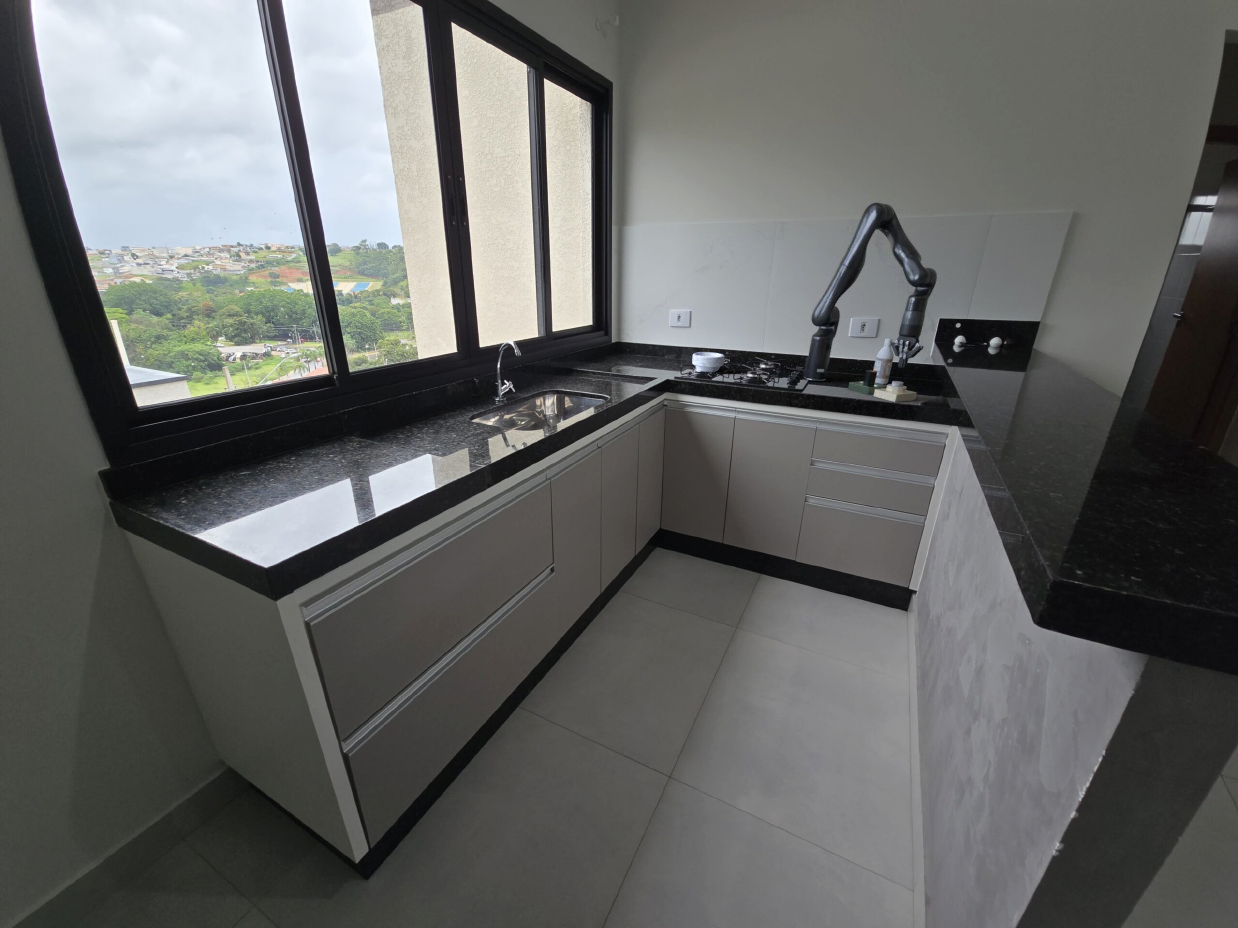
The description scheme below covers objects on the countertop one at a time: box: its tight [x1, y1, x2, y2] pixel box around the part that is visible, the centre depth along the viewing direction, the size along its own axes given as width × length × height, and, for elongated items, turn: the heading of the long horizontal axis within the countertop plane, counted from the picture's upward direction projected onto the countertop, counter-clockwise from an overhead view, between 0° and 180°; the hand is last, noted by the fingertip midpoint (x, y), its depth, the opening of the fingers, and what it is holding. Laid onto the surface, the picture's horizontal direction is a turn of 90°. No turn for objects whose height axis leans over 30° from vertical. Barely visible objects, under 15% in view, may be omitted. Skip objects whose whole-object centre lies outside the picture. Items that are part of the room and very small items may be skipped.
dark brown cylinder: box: [863, 369, 877, 385], centre depth 214 cm, size 4×4×6 cm
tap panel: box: [847, 380, 888, 395], centre depth 216 cm, size 10×12×3 cm
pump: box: [891, 380, 904, 387], centre depth 204 cm, size 4×4×2 cm
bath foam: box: [873, 337, 895, 385], centre depth 231 cm, size 7×7×20 cm
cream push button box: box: [873, 383, 918, 403], centre depth 205 cm, size 10×12×5 cm
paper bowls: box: [692, 351, 726, 373], centre depth 245 cm, size 15×15×8 cm
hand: (901, 368), depth 201 cm, fingers closed
